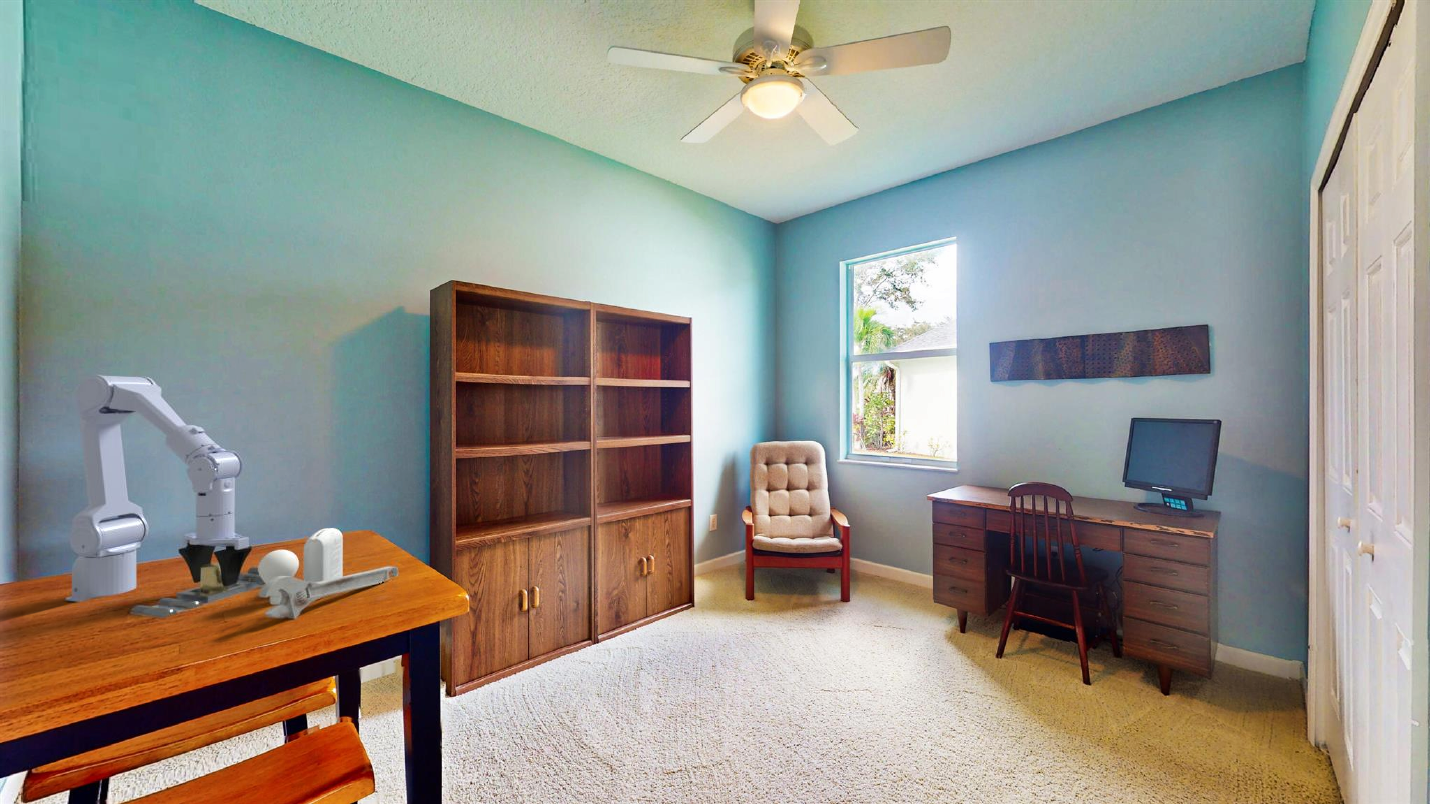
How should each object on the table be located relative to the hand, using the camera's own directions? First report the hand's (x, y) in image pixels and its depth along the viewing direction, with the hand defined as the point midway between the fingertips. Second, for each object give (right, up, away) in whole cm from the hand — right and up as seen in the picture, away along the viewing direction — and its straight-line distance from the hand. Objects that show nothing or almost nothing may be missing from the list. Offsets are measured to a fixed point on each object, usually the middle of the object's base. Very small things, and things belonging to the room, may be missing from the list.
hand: (215, 582), depth 111 cm
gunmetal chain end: (+1, -3, +3) cm, 5 cm away
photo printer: (+16, -4, +7) cm, 18 cm away
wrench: (+24, -4, +1) cm, 24 cm away
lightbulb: (+16, -4, -4) cm, 16 cm away
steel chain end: (-1, -3, -4) cm, 5 cm away
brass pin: (0, -3, 0) cm, 3 cm away
